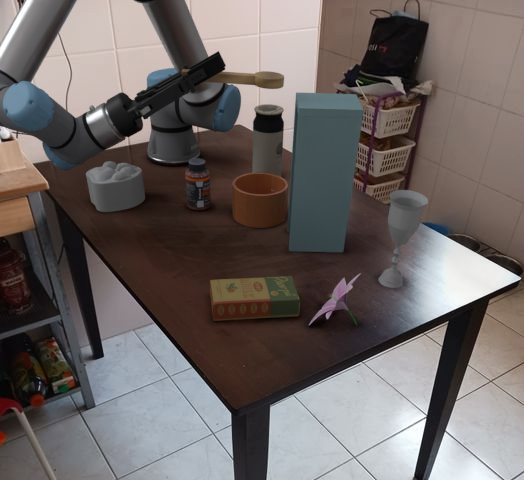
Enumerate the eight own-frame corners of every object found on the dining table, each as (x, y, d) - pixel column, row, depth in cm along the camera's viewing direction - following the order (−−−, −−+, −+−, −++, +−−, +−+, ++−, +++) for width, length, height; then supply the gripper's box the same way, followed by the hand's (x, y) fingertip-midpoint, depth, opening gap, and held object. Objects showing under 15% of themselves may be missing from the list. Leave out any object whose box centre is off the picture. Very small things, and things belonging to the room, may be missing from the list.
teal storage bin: (287, 229, 126) (296, 92, 107) (338, 230, 127) (356, 94, 107) (288, 251, 119) (298, 107, 99) (343, 252, 119) (363, 109, 100)
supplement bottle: (207, 212, 132) (205, 167, 124) (183, 210, 133) (180, 164, 125) (213, 202, 136) (212, 157, 129) (191, 199, 137) (188, 155, 130)
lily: (347, 301, 107) (328, 261, 102) (393, 308, 97) (374, 265, 93) (308, 340, 103) (286, 301, 98) (352, 352, 93) (330, 310, 89)
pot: (233, 202, 136) (233, 171, 131) (285, 204, 137) (286, 173, 132) (231, 227, 127) (231, 194, 121) (287, 228, 127) (289, 196, 122)
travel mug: (246, 177, 149) (246, 108, 137) (265, 169, 153) (267, 101, 142) (268, 185, 145) (270, 115, 133) (287, 176, 150) (291, 108, 138)
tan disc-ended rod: (180, 83, 99) (180, 73, 98) (183, 75, 103) (183, 65, 102) (284, 90, 100) (285, 80, 99) (282, 81, 104) (283, 72, 103)
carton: (210, 296, 105) (209, 278, 102) (291, 292, 107) (292, 273, 104) (213, 322, 99) (212, 303, 96) (299, 317, 101) (301, 298, 98)
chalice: (367, 275, 112) (382, 192, 101) (394, 268, 115) (412, 187, 103) (386, 293, 107) (404, 209, 96) (415, 287, 109) (436, 203, 98)
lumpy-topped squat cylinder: (87, 197, 136) (81, 163, 131) (137, 187, 141) (133, 155, 136) (100, 214, 130) (94, 179, 124) (151, 203, 135) (148, 169, 129)
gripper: (96, 113, 98) (209, 48, 91) (112, 90, 109) (213, 31, 103) (120, 150, 102) (230, 91, 96) (133, 125, 113) (232, 70, 107)
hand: (221, 60), depth 99 cm, fingers closed on tan disc-ended rod, 2 cm apart
